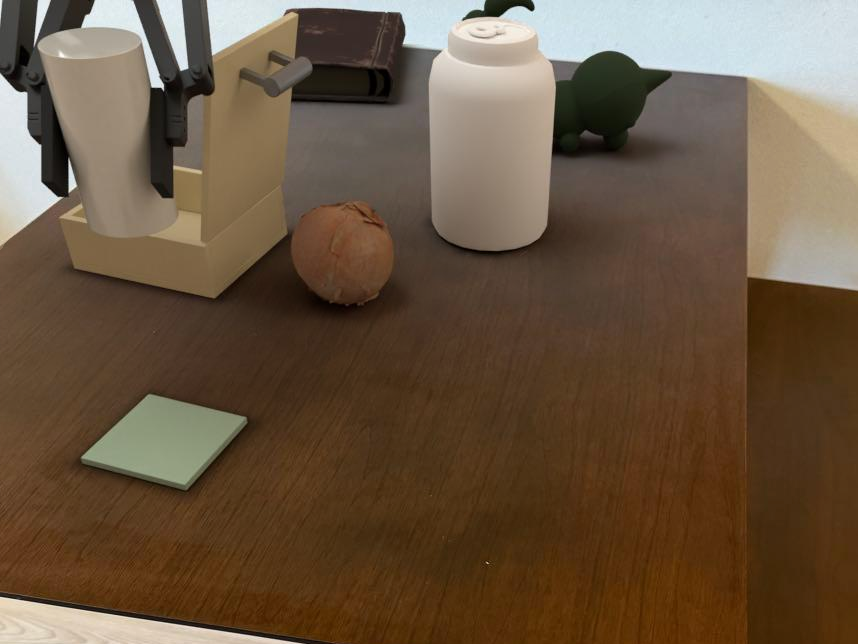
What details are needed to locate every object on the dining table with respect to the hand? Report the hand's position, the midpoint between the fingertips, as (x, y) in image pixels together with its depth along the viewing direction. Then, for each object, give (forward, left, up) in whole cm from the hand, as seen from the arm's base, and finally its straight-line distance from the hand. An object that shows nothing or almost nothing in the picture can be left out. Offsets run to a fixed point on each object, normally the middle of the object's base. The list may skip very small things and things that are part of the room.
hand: (109, 189), depth 66 cm
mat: (+2, -4, -19) cm, 19 cm away
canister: (-1, +3, -4) cm, 5 cm away
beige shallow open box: (-14, +24, -19) cm, 34 cm away
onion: (+5, +22, -19) cm, 30 cm away
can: (+13, +41, -19) cm, 47 cm away
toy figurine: (+14, +66, -19) cm, 70 cm away
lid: (-4, +24, -5) cm, 25 cm away
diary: (-24, +80, -19) cm, 85 cm away
